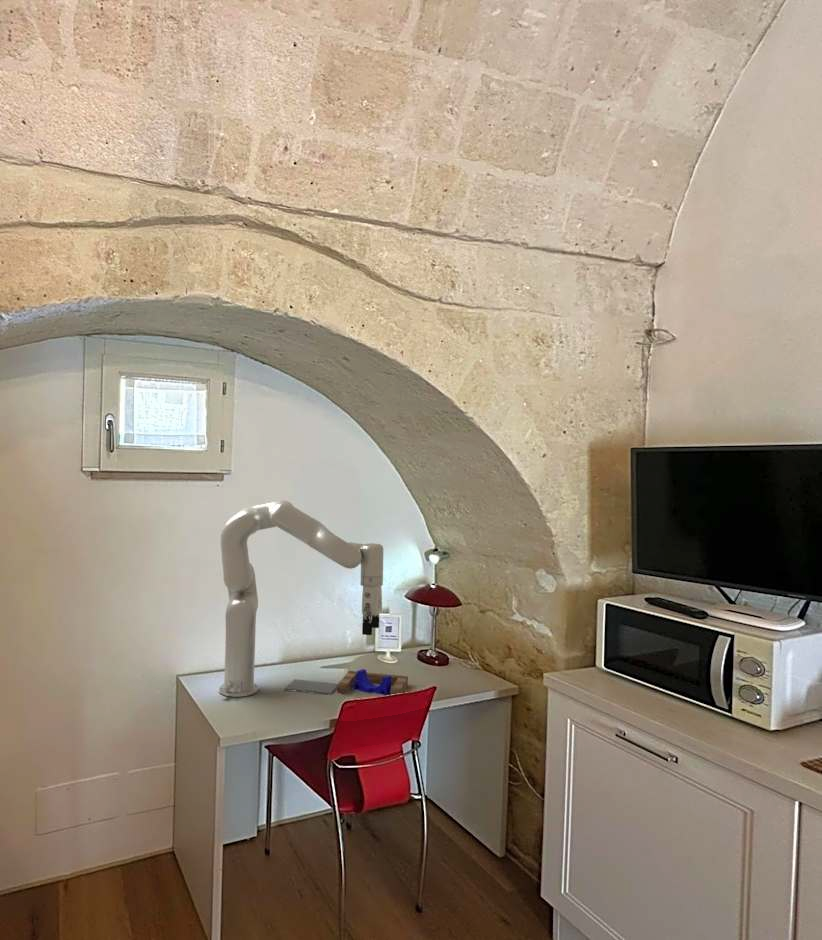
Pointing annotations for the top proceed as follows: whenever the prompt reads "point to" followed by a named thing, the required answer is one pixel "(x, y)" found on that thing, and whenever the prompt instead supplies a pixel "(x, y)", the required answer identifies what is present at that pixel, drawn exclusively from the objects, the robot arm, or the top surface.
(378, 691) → the blue u-shaped cradle
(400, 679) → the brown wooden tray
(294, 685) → the rubber mat
